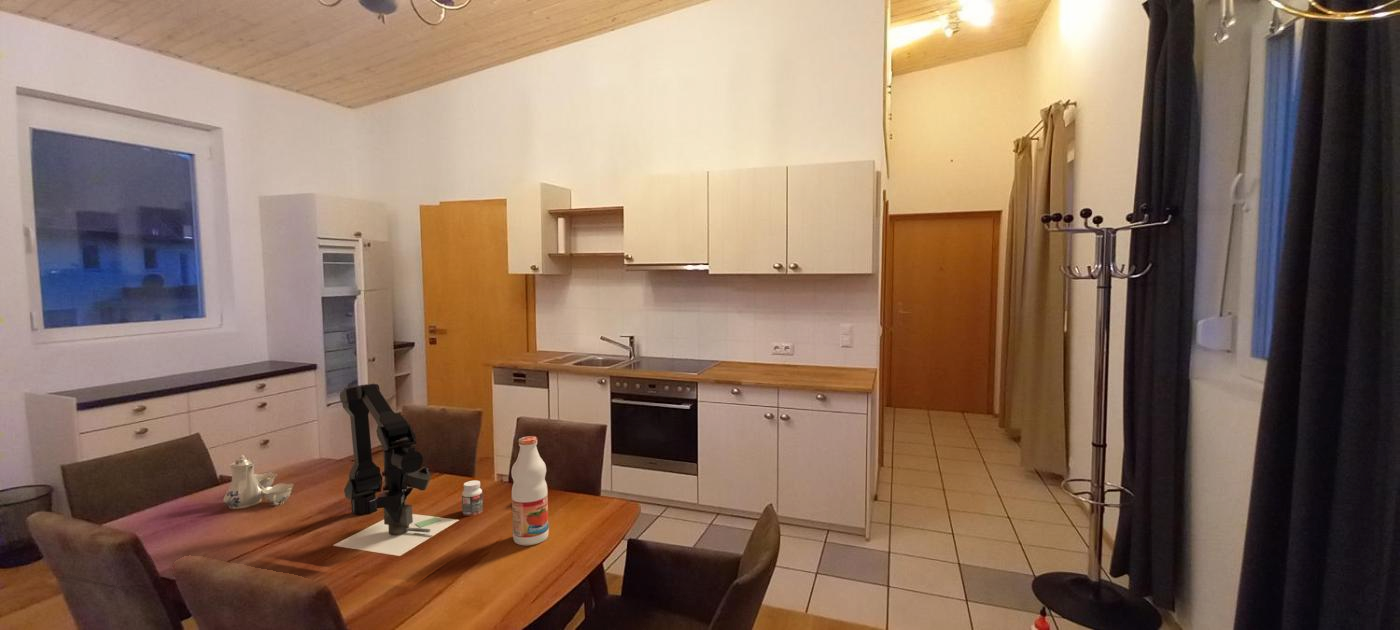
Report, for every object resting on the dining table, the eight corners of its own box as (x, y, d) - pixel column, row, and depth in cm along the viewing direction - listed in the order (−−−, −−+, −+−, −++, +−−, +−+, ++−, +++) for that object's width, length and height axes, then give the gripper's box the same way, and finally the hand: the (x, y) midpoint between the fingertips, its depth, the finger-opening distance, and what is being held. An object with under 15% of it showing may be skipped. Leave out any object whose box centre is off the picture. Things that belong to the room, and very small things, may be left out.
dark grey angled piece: (381, 534, 155) (380, 508, 154) (394, 526, 160) (392, 501, 159) (423, 537, 153) (422, 511, 152) (435, 529, 158) (434, 504, 157)
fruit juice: (526, 528, 160) (523, 432, 158) (555, 533, 157) (552, 435, 155) (505, 543, 151) (502, 442, 149) (536, 548, 148) (532, 444, 146)
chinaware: (303, 506, 182) (306, 455, 183) (241, 520, 168) (244, 464, 169) (267, 489, 197) (269, 442, 198) (206, 500, 183) (209, 450, 184)
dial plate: (333, 549, 149) (332, 544, 149) (398, 515, 170) (398, 511, 170) (400, 559, 143) (399, 555, 143) (459, 523, 164) (459, 519, 164)
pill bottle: (475, 519, 167) (474, 487, 166) (458, 518, 168) (457, 485, 167) (486, 511, 172) (485, 480, 172) (470, 510, 173) (469, 479, 173)
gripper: (419, 473, 149) (422, 530, 150) (434, 452, 167) (436, 503, 168) (373, 477, 146) (376, 536, 147) (392, 455, 164) (395, 507, 165)
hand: (398, 519), depth 157 cm, fingers closed on dark grey angled piece, 3 cm apart
